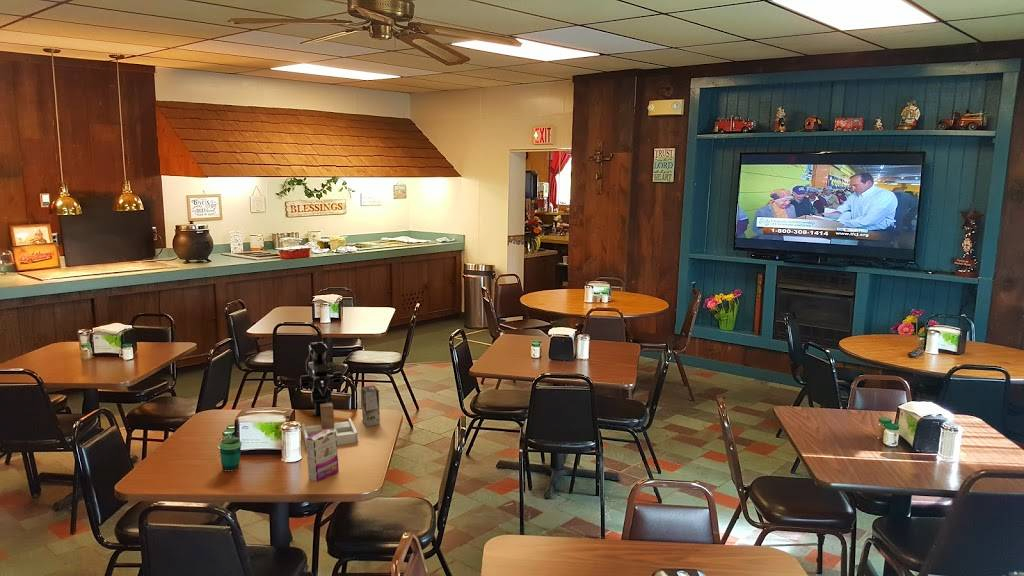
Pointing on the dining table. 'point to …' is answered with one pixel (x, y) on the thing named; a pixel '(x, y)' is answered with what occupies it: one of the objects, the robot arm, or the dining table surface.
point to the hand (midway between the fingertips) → (323, 395)
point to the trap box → (343, 432)
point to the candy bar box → (322, 455)
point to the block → (327, 416)
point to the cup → (230, 453)
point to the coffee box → (370, 405)
